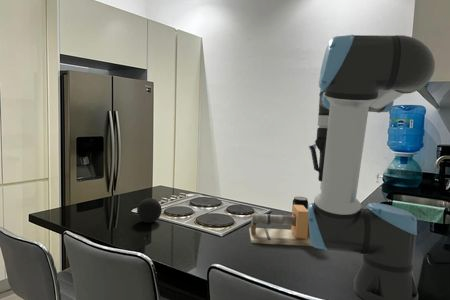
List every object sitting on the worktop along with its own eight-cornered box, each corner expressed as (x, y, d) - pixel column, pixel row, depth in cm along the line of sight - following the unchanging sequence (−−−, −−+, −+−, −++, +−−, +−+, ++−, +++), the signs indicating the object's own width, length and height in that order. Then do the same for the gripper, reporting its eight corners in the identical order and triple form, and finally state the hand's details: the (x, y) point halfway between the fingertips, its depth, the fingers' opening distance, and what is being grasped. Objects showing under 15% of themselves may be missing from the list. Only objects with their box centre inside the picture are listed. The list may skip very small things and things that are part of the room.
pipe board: (305, 233, 133) (307, 211, 133) (315, 246, 119) (316, 222, 119) (249, 230, 133) (250, 208, 133) (251, 242, 120) (252, 218, 119)
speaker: (166, 221, 140) (166, 198, 139) (151, 227, 131) (152, 202, 130) (147, 217, 144) (147, 194, 144) (131, 223, 135) (132, 199, 134)
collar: (301, 229, 131) (302, 205, 130) (307, 238, 121) (309, 211, 120) (291, 229, 131) (292, 204, 130) (296, 238, 121) (298, 211, 120)
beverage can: (306, 228, 140) (308, 200, 139) (291, 226, 142) (293, 199, 141) (306, 223, 147) (308, 197, 146) (291, 222, 148) (293, 195, 147)
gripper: (341, 128, 127) (337, 188, 129) (307, 126, 127) (303, 187, 129) (349, 128, 119) (343, 192, 121) (312, 126, 119) (308, 191, 121)
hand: (323, 189), depth 125 cm, fingers closed
